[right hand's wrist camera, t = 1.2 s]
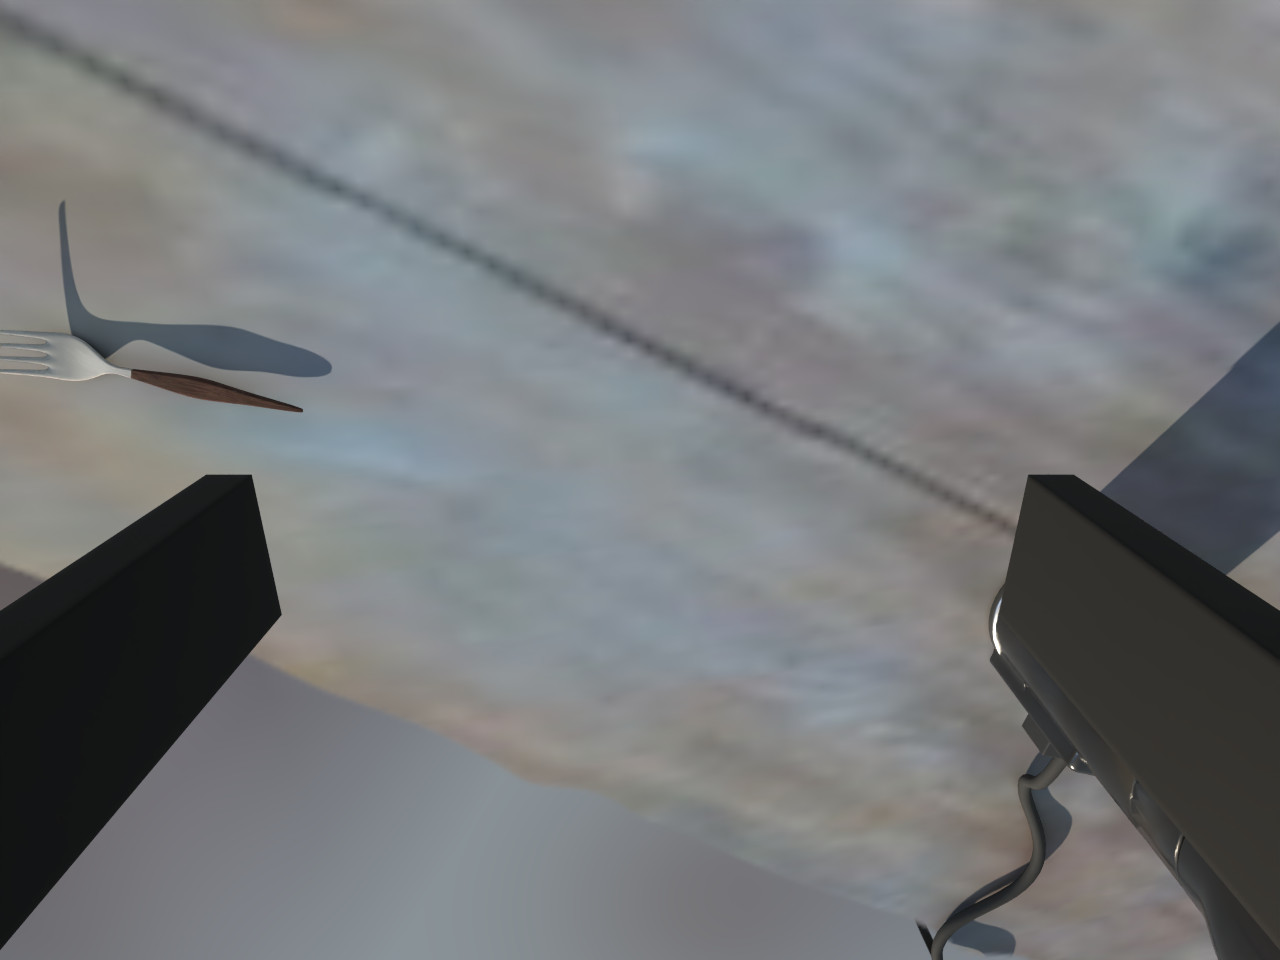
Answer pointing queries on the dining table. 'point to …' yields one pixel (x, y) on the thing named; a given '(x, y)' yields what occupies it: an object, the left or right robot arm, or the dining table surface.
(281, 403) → the fork
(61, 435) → the dining table surface
